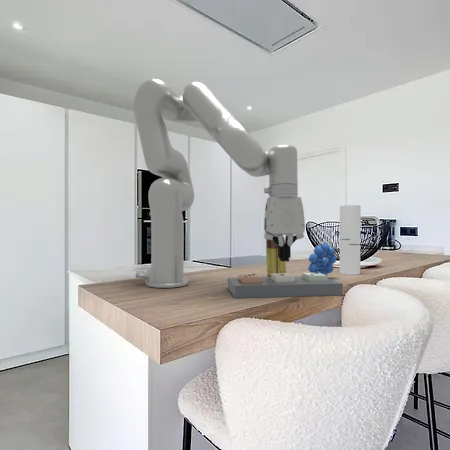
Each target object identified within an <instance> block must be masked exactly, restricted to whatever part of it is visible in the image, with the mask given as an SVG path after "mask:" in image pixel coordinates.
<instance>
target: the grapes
mask: <svg viewBox="0 0 450 450" xmlns="http://www.w3.org/2000/svg"><path fill="white" fill-rule="evenodd" d="M335 251H336V249H335V248H334V247H333V246H330V245H329V243H327V242H324V243H322V244H321V245H316V246H315V247H314V249H313V253H311V254H310V255H309V257H308V260H309V261H308V262H310V263H309V265H308V267H307V268H308V273H322V274H324V275H327V276H329V275H328V274H331V273H333V272H334V270H335V269H334V264H335V263H336V262H337V257H336V255H335Z"/></svg>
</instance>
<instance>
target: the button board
mask: <svg viewBox="0 0 450 450" xmlns="http://www.w3.org/2000/svg"><path fill="white" fill-rule="evenodd" d="M294 276H295V275H294ZM343 285H344V284H343V282H340V281H337V280H334V279H331V278H330V277H327V281H326V282H308V281H305V280H303V279H302V276H301V275H300V276H297V275H296V276H295V282H281V283H275V282H273V281H272V280H271V277H267V276H261V283H240V282H239V276H237V277H227V289H228V291H229V292H230V294H231V293H232V294H231V295H232V297H234V299H254V298H258V297H260V298H288V296H295V297H320V296H321V297H325V296H327V297H328V296H343V295H344V294H343V293H344V292H343V291H344V290H343V289H344V287H343Z"/></svg>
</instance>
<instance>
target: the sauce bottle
mask: <svg viewBox="0 0 450 450" xmlns="http://www.w3.org/2000/svg"><path fill="white" fill-rule="evenodd" d="M271 235H272V236H275V235H273V234H271ZM282 237H283V243H285V237H284V235H282ZM265 244H266V247H265V251H266V252H265V253H266V277H271V274H274V273H287V266H286V265H287V261H285V262H283V261H280V258H278V246H277V245H276V243H275V242H274V241H273V240H269V239H265Z"/></svg>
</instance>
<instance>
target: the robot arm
mask: <svg viewBox="0 0 450 450" xmlns="http://www.w3.org/2000/svg"><path fill="white" fill-rule="evenodd" d="M132 104H133V115H134V119H135V123H136V127H137V131H138V135H139V136H138V137H139V141H140V145H141V149H142V155H143V157H144V162H145V166H146V169H147V170H148V171H149V173H151V174H153V175H156V176H158V177H160V178H158V179H156V180H154V181H153V182H152V183H151V184H150V187H149V190H148V205H149V211H150V229H151V230H150V231H151V237H150V238H151V241H150V242H151V243H150V244H151V245H150V250H151V252H150V254H151V256H150V257H151V259H150V261H151V263H150V265H151V266H150V269H147V271H143V270H138V271H135V278H136V279H146V280H145V285H146V286H147V287H149V288H156V289H157V288H159V289H160V288H161V289H165V288H167V289H170V288H179V287H184V286H187V285H188V284H189V282H190V281H189V280H190V279H188V278H186V277H184V272H185V271H184V263H185V262H184V261H185V259H184V255H185V254H184V251H185V249H184V248H185V247H184V246H185V245H184V241H185V238H184V237H185V234H184V233H185V232H184V229H185V228H184V227H185V226H184V216H183V212H184V211H187V210H189V209H190V208H191V206H192V205H193V204H194V199H195V191H194V185H193V182H192V177H191V173H190V169H189V166H188V162H187V160H186V158H185V156H184V155H183V154H182V153H181V152H180V151H178V150H177V149H174V148H173V146H172V144H171V142H170V138H169V134H168V133H169V132H168V129H167V126H166V123H165V121H164V119H166V120H168V121H172V122H181V123H182V122H188V123H189V122H190V123H199V124H200V125H201V126H202V127H203V128H204V129H205V131H206V132H207V133H208V134H209V135H210V136H211V138H212V139H213V140H215V141H216V143H217V144H218V145H219V146H220V147H221V148H222V149H223V150H224V152H225V153H226V154H227V155H228V156H229V157H230V158H231V159H232V161H234V163H235V164H236V165H237V166H238V167H239V168H240V169H241V170H242V171H244V172H245V173H246V174H248V175H249V176H250V177H254V178H257V177H265V176H268V187H266V188H264V189H263V192H264V194H267V195H268V197H266V202H265V209H264V221H263V222H264V223H263V224H264V225H263V228H264V229H263V230H264V236H263V238H264V239H265V240H266V239H269V240H273V241H274V242H275V243H276V245H277V246H278V258H280V261H283V262H285V261H286V262H289V261H290V259H291V257H292V256H291V252H292V251H291V247H292V246H293V244H294V243H296V241H297V240H301V239H303V238H305V237H304V233H305V231H306V224H305V223H306V221H305V211H304V207H303V206H304V205H303V200H302V197H301V196H299V195H298V194H299V192H298V188H299V185H298V183H299V181H298V150H297V148H296V147H295V145H291V144H278V145H275V146H272V147H271V148H269V150H265V149H264V148H263V147H262V146H261V145H260V144H259V142H258V141H256V140H255V139H254V137H253V136H252V135H251V134H250V133H249V132H248V130H246V129H245V128H244V127H243V125H242V124H241V123H240V122H239V121H238V120H237V118H236V116H235V115H234V114H233V112H231V111H230V109H229V108H227V106H226V105H225V104H224V103H223V101H221V100H220V99H219V98H218V97H217V96H216V94H215V93H214V92H213V91H212V90H211V89H210V88H209V87H208V86H207V85H205V84H204V83H203V82H199V81H190V82H189V83H187V84H186V86H185V87H184V88H183V91H182V93H181V95H180V94H179V93H178V92H177V91H176V90H174V88H172V87H171V86H170V85H169V84H168V83H166V81H163V80H161V79H159V78H148V79H146V80H144V81H143V82H142V83H141V84H140V85H139V87H138V89H137V90H136V92H135V95H134V98H133V103H132ZM271 234H273V235H275V236H272V235H271ZM282 235H283V237H284V236H285V237H284V239H285V243H283V237H282Z"/></svg>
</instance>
